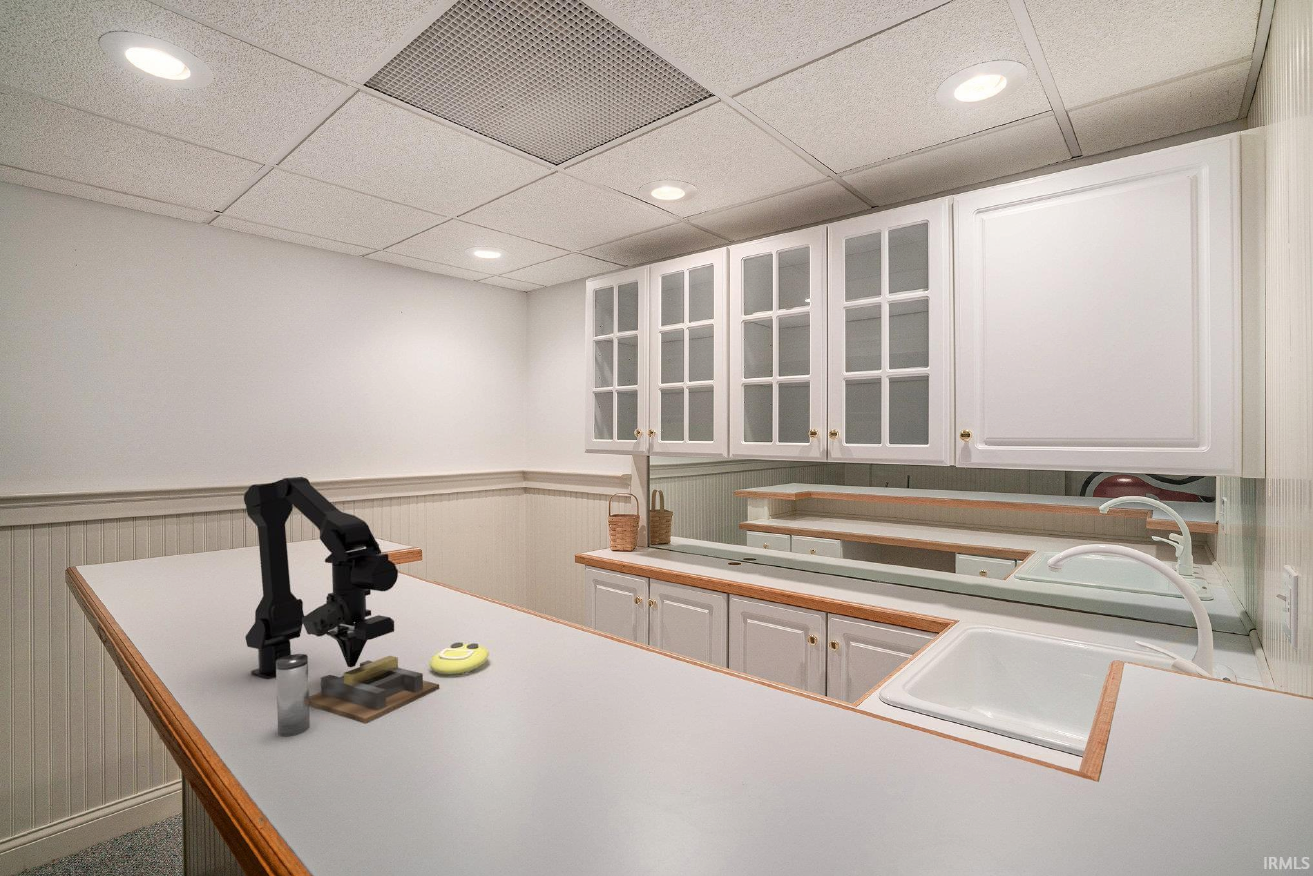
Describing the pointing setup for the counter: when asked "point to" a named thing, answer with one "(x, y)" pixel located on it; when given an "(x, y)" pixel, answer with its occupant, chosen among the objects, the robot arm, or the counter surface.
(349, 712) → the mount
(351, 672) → the bar
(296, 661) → the metal canister
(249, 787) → the counter surface
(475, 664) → the emoji
